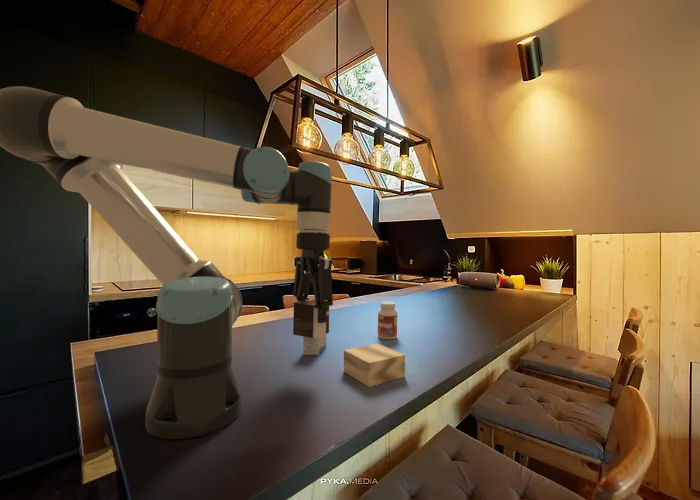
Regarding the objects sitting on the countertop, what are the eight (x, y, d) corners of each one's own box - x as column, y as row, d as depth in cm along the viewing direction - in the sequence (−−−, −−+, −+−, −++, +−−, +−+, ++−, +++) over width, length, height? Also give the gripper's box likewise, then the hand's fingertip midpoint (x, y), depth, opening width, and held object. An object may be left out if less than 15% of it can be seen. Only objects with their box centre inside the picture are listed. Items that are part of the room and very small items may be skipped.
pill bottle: (374, 338, 105) (374, 303, 104) (382, 333, 110) (382, 300, 110) (393, 340, 102) (393, 305, 102) (399, 336, 107) (400, 302, 107)
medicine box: (318, 356, 88) (318, 323, 87) (302, 355, 88) (302, 322, 88) (326, 347, 95) (326, 317, 95) (311, 346, 96) (311, 316, 96)
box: (314, 339, 71) (314, 305, 70) (292, 335, 74) (292, 302, 73) (329, 333, 76) (330, 301, 76) (308, 329, 79) (309, 298, 79)
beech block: (368, 387, 69) (369, 363, 69) (343, 371, 77) (343, 350, 77) (404, 376, 74) (405, 354, 74) (377, 363, 82) (377, 343, 82)
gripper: (352, 232, 68) (349, 342, 68) (308, 233, 85) (306, 321, 85) (319, 230, 64) (316, 347, 64) (281, 232, 81) (278, 324, 81)
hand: (310, 332), depth 75 cm, fingers closed on box, 8 cm apart
